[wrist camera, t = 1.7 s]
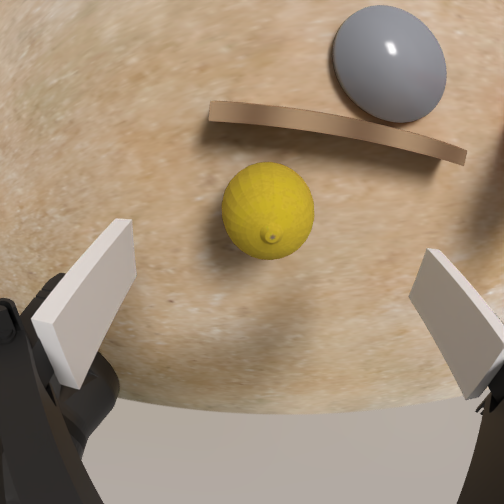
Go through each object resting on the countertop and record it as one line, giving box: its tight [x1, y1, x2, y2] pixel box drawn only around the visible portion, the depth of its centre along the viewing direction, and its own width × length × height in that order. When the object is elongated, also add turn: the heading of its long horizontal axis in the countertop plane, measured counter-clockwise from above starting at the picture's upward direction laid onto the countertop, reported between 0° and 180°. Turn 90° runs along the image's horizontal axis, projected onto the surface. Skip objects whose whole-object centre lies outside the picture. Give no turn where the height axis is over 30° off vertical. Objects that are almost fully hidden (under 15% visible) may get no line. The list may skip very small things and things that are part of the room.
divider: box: [209, 101, 467, 166], centre depth 19 cm, size 18×1×3 cm, turn 84°
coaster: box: [332, 5, 447, 123], centre depth 17 cm, size 9×9×1 cm
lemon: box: [222, 162, 314, 260], centre depth 19 cm, size 6×6×8 cm
